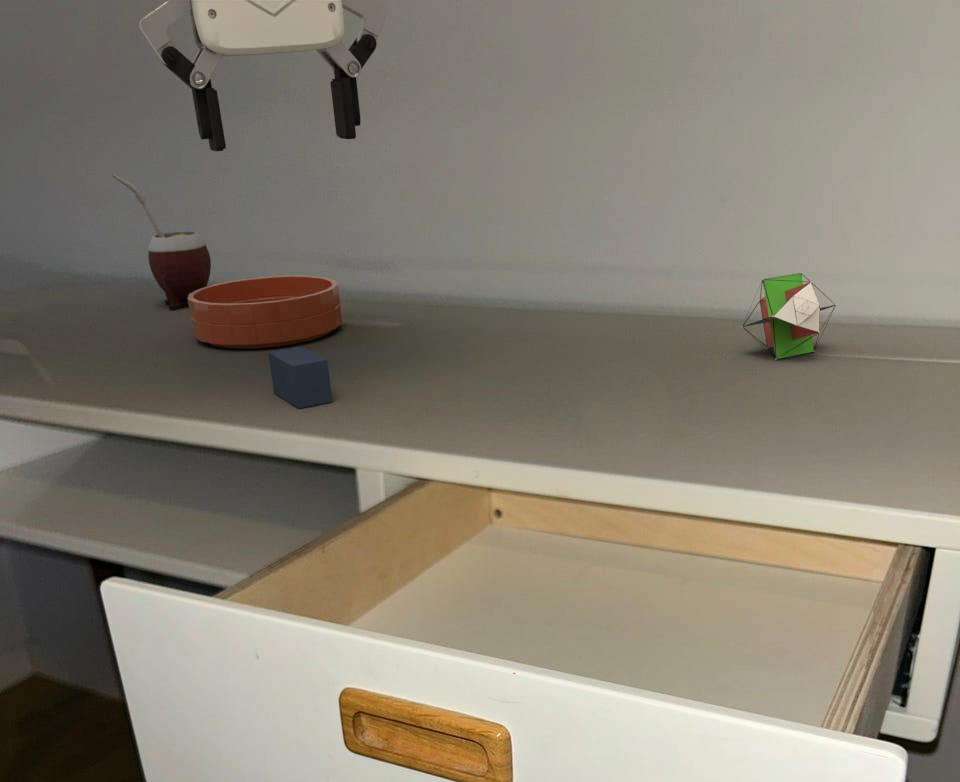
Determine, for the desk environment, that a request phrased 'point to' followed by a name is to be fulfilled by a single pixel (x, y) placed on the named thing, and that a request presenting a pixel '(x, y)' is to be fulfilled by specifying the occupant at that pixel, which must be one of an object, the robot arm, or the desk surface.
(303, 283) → the bowl
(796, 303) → the geometric puzzle
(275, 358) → the blue rectangular block
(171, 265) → the mate gourd
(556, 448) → the desk surface
